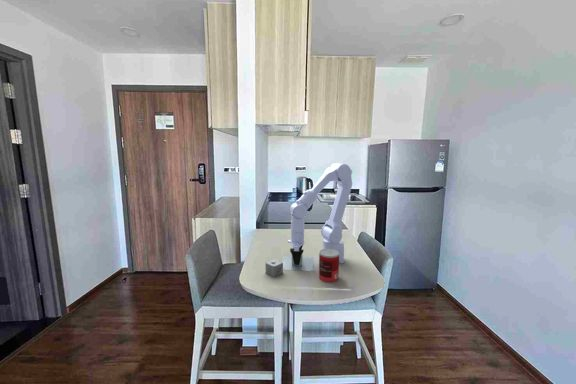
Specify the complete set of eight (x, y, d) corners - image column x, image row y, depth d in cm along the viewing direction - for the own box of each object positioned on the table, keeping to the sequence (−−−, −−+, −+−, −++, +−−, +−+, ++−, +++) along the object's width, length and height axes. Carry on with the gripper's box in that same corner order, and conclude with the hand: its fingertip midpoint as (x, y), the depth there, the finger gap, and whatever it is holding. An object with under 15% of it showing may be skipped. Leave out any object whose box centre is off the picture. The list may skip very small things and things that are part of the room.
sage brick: (302, 261, 121) (302, 251, 121) (302, 265, 117) (302, 255, 116) (292, 260, 122) (292, 251, 121) (291, 265, 117) (291, 255, 116)
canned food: (336, 273, 111) (337, 248, 109) (340, 283, 103) (341, 256, 101) (317, 274, 110) (318, 248, 109) (320, 283, 102) (321, 256, 101)
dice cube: (265, 274, 110) (265, 262, 109) (274, 270, 114) (274, 259, 113) (273, 278, 107) (273, 266, 106) (283, 274, 110) (283, 262, 109)
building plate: (312, 258, 126) (312, 257, 126) (313, 272, 112) (313, 270, 112) (282, 257, 127) (282, 256, 127) (279, 270, 113) (279, 269, 113)
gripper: (289, 226, 124) (289, 254, 127) (286, 236, 110) (286, 267, 112) (304, 226, 124) (304, 254, 126) (304, 236, 110) (303, 268, 112)
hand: (297, 260), depth 119 cm, fingers open, 7 cm apart
